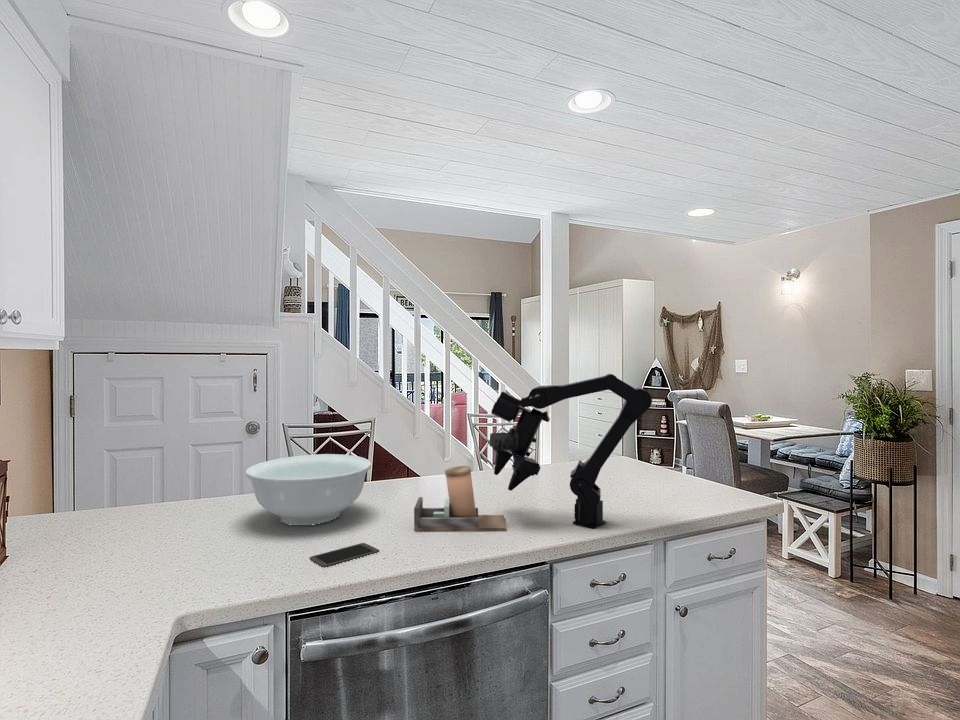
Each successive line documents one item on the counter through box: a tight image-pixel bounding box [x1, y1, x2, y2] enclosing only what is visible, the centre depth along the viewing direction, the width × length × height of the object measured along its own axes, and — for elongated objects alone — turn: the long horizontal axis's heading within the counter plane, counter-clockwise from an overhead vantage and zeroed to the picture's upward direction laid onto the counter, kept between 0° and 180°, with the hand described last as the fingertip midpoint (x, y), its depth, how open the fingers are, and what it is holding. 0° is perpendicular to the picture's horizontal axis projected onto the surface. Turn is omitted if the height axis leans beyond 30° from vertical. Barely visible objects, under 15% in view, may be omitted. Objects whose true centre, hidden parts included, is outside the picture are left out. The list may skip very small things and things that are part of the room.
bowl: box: [245, 453, 372, 526], centre depth 148 cm, size 32×32×15 cm
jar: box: [444, 465, 477, 518], centre depth 141 cm, size 7×7×13 cm
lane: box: [413, 496, 507, 532], centre depth 141 cm, size 23×11×6 cm, turn 90°
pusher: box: [433, 498, 450, 518], centre depth 141 cm, size 4×7×5 cm, turn 0°
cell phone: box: [308, 542, 381, 569], centre depth 120 cm, size 7×14×1 cm, turn 133°
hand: (502, 482), depth 146 cm, fingers open, 9 cm apart
